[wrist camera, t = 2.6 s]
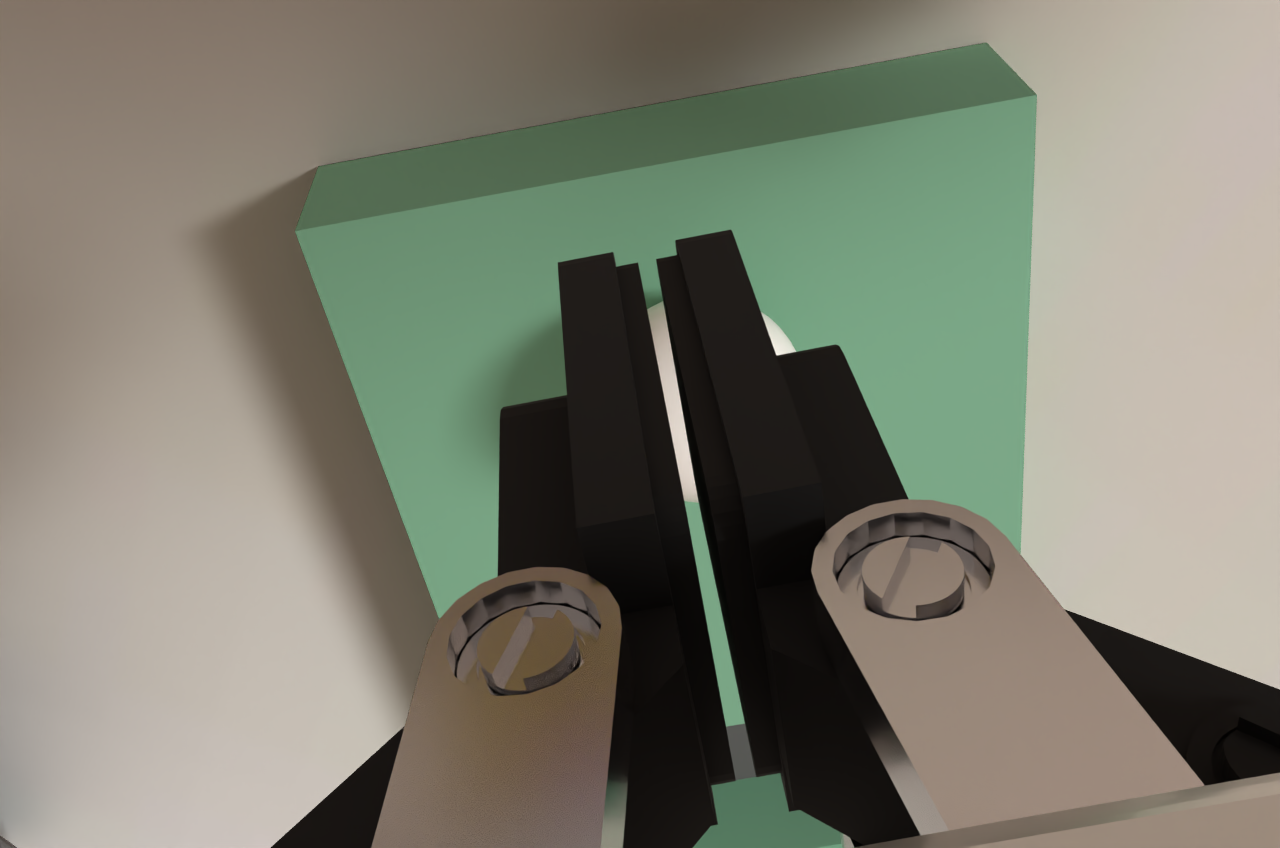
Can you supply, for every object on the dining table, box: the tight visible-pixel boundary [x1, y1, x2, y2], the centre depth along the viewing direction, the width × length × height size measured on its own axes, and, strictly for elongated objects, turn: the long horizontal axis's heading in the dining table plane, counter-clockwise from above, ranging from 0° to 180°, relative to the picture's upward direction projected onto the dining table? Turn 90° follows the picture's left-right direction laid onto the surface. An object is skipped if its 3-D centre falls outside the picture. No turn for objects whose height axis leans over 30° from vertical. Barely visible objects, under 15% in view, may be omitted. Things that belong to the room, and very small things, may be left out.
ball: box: [647, 301, 796, 503], centre depth 23 cm, size 4×4×4 cm
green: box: [295, 43, 1037, 848], centre depth 29 cm, size 14×24×5 cm, turn 9°
